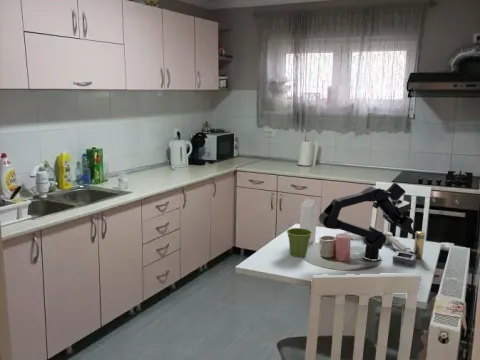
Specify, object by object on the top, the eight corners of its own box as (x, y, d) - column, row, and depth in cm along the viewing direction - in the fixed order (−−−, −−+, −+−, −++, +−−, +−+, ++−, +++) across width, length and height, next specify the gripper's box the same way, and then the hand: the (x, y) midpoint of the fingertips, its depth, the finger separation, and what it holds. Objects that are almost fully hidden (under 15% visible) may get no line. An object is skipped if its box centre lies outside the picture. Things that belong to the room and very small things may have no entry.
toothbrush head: (406, 251, 220) (381, 228, 243) (403, 264, 222) (379, 240, 245) (416, 251, 221) (391, 228, 244) (413, 263, 223) (388, 240, 246)
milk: (308, 243, 237) (311, 201, 232) (298, 241, 241) (301, 199, 236) (315, 241, 241) (318, 199, 237) (305, 238, 245) (308, 197, 241)
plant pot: (291, 248, 228) (293, 226, 226) (314, 253, 223) (316, 230, 220) (280, 255, 218) (282, 232, 216) (304, 261, 213) (306, 237, 210)
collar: (413, 266, 211) (413, 260, 210) (392, 262, 215) (393, 256, 214) (415, 260, 219) (416, 254, 218) (396, 256, 223) (396, 250, 222)
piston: (419, 260, 220) (422, 234, 217) (411, 257, 223) (413, 232, 220) (423, 258, 222) (426, 232, 220) (415, 255, 225) (418, 230, 223)
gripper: (411, 200, 206) (431, 224, 210) (391, 191, 224) (410, 213, 228) (393, 218, 206) (413, 241, 210) (374, 207, 224) (393, 229, 228)
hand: (407, 230), depth 219 cm, fingers open, 9 cm apart
